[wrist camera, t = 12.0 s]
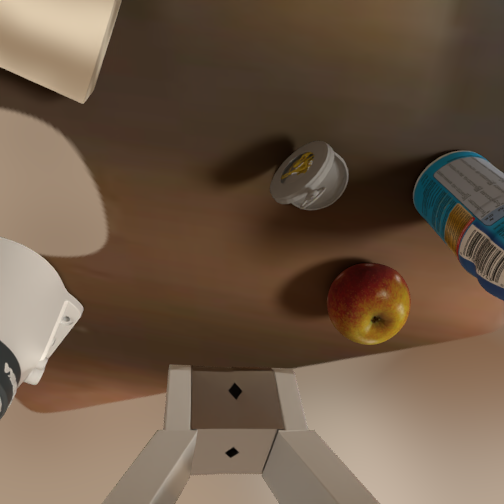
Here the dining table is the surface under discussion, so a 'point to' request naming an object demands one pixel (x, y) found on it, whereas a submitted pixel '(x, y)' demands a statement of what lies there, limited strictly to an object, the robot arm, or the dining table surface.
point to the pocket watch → (310, 177)
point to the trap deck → (57, 42)
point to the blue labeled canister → (467, 213)
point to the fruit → (368, 303)
